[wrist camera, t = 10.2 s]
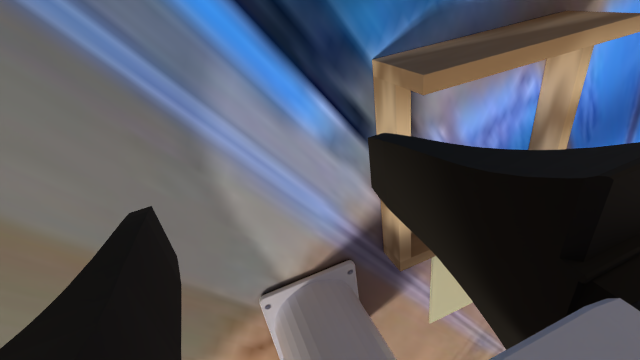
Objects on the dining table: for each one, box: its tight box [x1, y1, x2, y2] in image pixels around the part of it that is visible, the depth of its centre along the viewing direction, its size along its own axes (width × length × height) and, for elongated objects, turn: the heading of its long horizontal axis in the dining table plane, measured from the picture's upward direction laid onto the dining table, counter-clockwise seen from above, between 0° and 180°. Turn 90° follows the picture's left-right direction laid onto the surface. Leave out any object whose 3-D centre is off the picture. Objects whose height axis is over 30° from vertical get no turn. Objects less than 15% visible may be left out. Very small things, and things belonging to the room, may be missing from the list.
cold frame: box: [372, 11, 640, 271], centre depth 25 cm, size 16×16×5 cm
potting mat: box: [429, 256, 473, 323], centre depth 35 cm, size 12×12×1 cm
